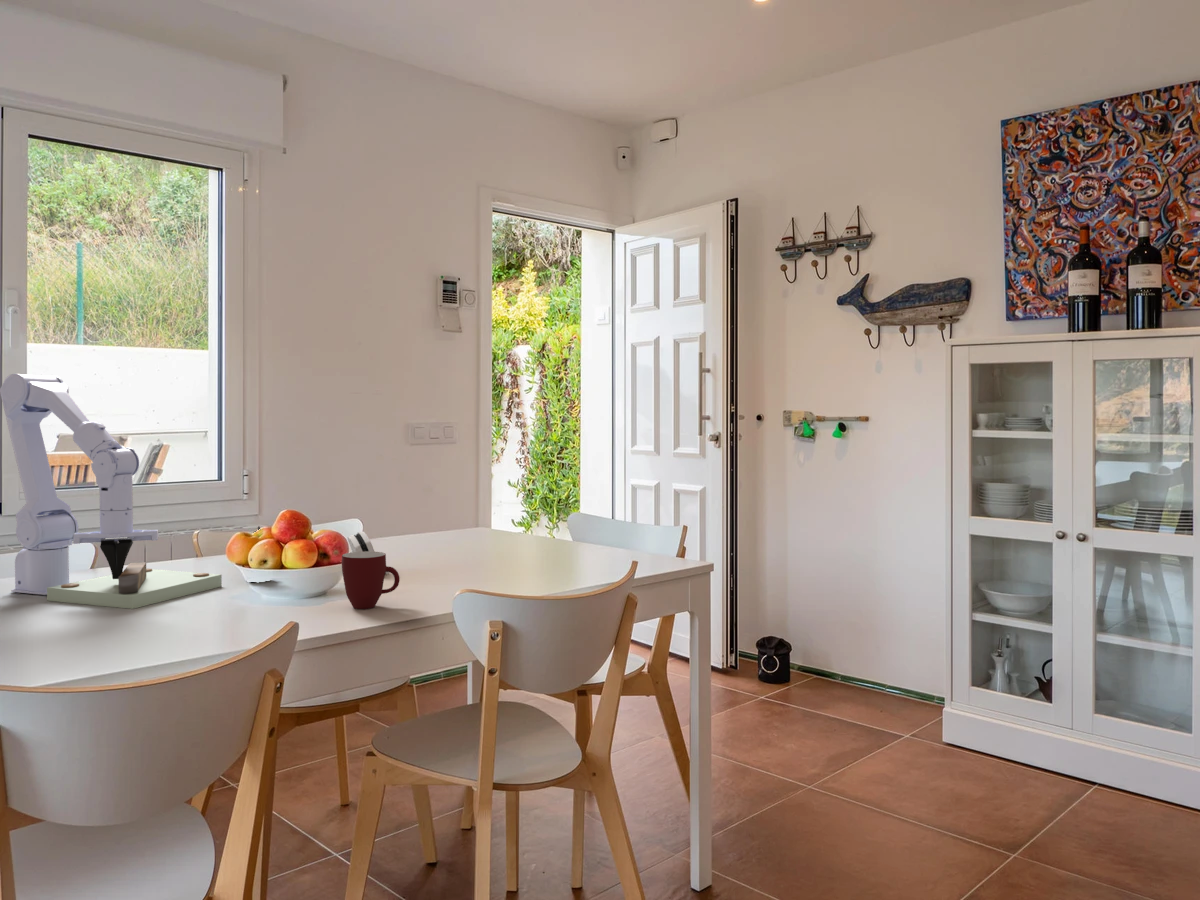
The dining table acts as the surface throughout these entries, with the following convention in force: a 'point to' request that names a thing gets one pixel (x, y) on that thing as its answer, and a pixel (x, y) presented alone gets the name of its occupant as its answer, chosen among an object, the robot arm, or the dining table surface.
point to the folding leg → (132, 578)
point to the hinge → (360, 543)
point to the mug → (366, 577)
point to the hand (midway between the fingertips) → (117, 578)
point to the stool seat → (151, 591)
